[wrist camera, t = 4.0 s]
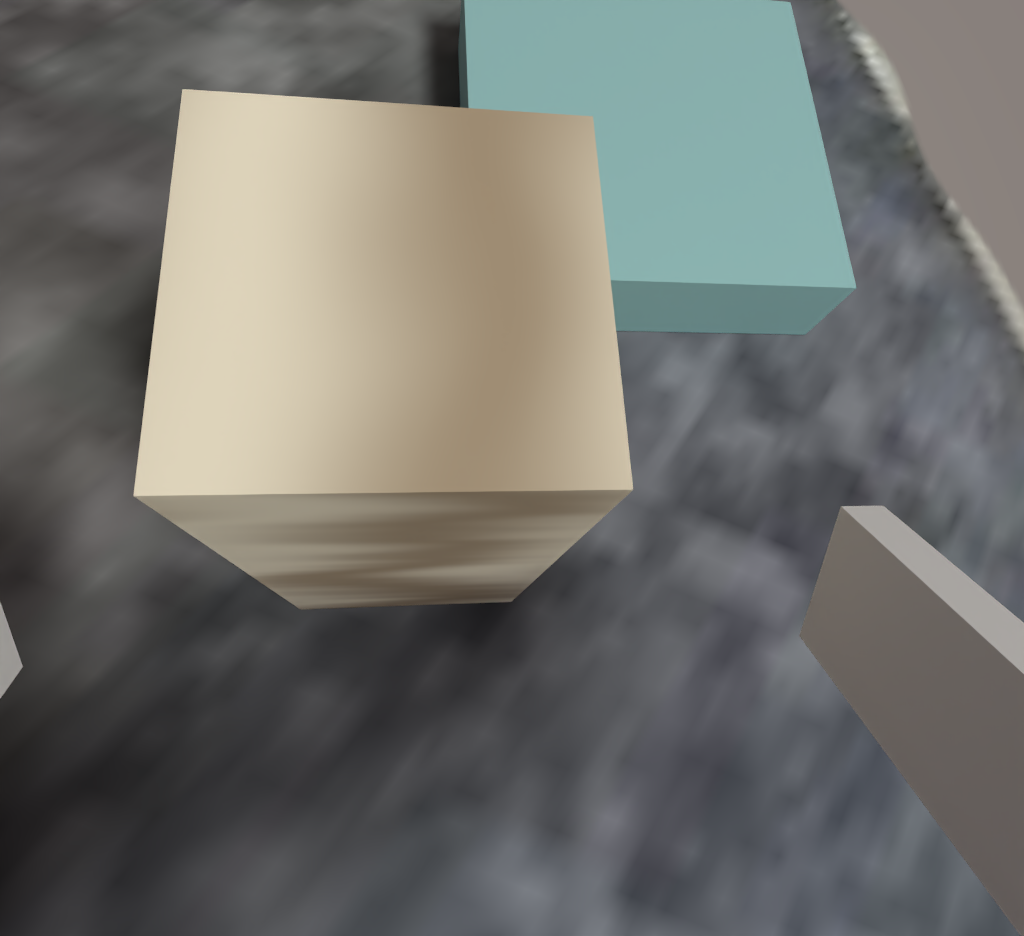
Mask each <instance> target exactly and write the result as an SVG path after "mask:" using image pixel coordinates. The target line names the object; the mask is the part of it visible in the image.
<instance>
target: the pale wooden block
mask: <svg viewBox="0 0 1024 936" xmlns="http://www.w3.org/2000/svg"><path fill="white" fill-rule="evenodd" d="M632 490H633V483H632V474H631V465H630V456H629V446H628V437H627V428H626V418H625V409H624V400H623V390H622V381H621V372H620V363H619V353H618V344H617V335H616V325H615V316H614V307H613V298H612V288H611V279H610V270H609V260H608V251H607V242H606V233H605V223H604V214H603V205H602V195H601V186H600V177H599V167H598V158H597V149H596V140H595V130H594V121H593V116H580V115H565V114H550V113H535V112H520V111H504V110H489V109H474V108H459V107H444V106H429V105H414V104H399V103H384V102H369V101H353V100H338V99H323V98H308V97H293V96H278V95H263V94H248V93H233V92H218V91H202V90H187V89H183V90H182V98H181V106H180V115H179V123H178V131H177V139H176V148H175V156H174V164H173V173H172V181H171V189H170V197H169V206H168V214H167V222H166V231H165V239H164V247H163V255H162V264H161V272H160V280H159V289H158V297H157V305H156V313H155V322H154V330H153V338H152V347H151V355H150V363H149V371H148V380H147V388H146V396H145V405H144V413H143V421H142V430H141V438H140V446H139V454H138V463H137V471H136V479H135V488H134V497H136V498H137V499H139V500H140V501H142V502H143V503H145V504H146V505H147V506H149V507H150V508H152V509H153V510H155V511H156V512H158V513H159V514H161V515H162V516H164V517H165V518H167V519H168V520H170V521H171V522H172V523H174V524H175V525H177V526H178V527H180V528H181V529H183V530H184V531H186V532H187V533H189V534H190V535H192V536H193V537H195V538H196V539H197V540H199V541H200V542H202V543H203V544H205V545H206V546H208V547H209V548H211V549H212V550H214V551H215V552H217V553H218V554H220V555H221V556H222V557H224V558H225V559H227V560H228V561H230V562H231V563H233V564H234V565H236V566H237V567H239V568H240V569H242V570H243V571H245V572H246V573H247V574H249V575H250V576H252V577H253V578H255V579H256V580H258V581H259V582H261V583H262V584H264V585H265V586H267V587H268V588H270V589H271V590H272V591H274V592H275V593H277V594H278V595H280V596H281V597H283V598H284V599H286V600H287V601H289V602H290V603H292V604H293V605H295V606H296V607H297V608H299V609H324V608H352V607H380V606H408V605H436V604H464V603H492V602H512V601H513V600H514V599H515V598H516V597H517V596H518V595H519V594H520V593H521V592H522V591H524V590H525V589H526V588H527V587H528V586H529V585H530V584H531V583H532V582H533V581H534V580H535V579H537V578H538V577H539V576H540V575H541V574H542V573H543V572H544V571H545V570H546V569H547V568H549V567H550V566H551V565H552V564H553V563H554V562H555V561H556V560H557V559H558V558H559V557H560V556H562V555H563V554H564V553H565V552H566V551H567V550H568V549H569V548H570V547H571V546H572V545H574V544H575V543H576V542H577V541H578V540H579V539H580V538H581V537H582V536H583V535H584V534H585V533H587V532H588V531H589V530H590V529H591V528H592V527H593V526H594V525H595V524H596V523H597V522H599V521H600V520H601V519H602V518H603V517H604V516H605V515H606V514H607V513H608V512H609V511H610V510H612V509H613V508H614V507H615V506H616V505H617V504H618V503H619V502H620V501H621V500H622V499H624V498H625V497H626V496H627V495H628V494H629V493H630V492H631V491H632Z"/></svg>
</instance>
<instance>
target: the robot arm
mask: <svg viewBox="0 0 1024 936" xmlns="http://www.w3.org/2000/svg"><path fill="white" fill-rule="evenodd" d="M800 637H801V639H802V640H803V641H804V643H805V644H806V645H807V647H808V648H809V649H810V651H811V652H812V654H813V655H814V656H815V658H816V659H817V660H818V662H819V663H820V664H821V666H822V667H823V668H824V670H825V671H826V672H827V674H828V675H829V677H830V678H831V679H832V681H833V682H834V683H835V685H836V686H837V687H838V689H839V690H840V691H841V693H842V694H843V696H844V697H845V698H846V700H847V701H848V702H849V704H850V705H851V706H852V708H853V709H854V710H855V712H856V713H857V715H858V716H859V717H860V719H861V720H862V721H863V723H864V724H865V725H866V727H867V728H868V729H869V731H870V732H871V733H872V735H873V736H874V738H875V739H876V740H877V742H878V743H879V744H880V746H881V747H882V748H883V750H884V751H885V752H886V754H887V755H888V757H889V758H890V759H891V761H892V762H893V763H894V765H895V766H896V767H897V769H898V770H899V771H900V773H901V774H902V776H903V777H904V778H905V780H906V781H907V782H908V784H909V785H910V786H911V788H912V789H913V790H914V792H915V793H916V794H917V796H918V797H919V799H920V800H921V801H922V803H923V804H924V805H925V807H926V808H927V809H928V811H929V812H930V813H931V815H932V816H933V818H934V819H935V820H936V822H937V823H938V824H939V826H940V827H941V828H942V830H943V831H944V832H945V834H946V835H947V836H948V838H949V839H950V841H951V842H952V843H953V845H954V846H955V847H956V849H957V850H958V851H959V853H960V854H961V855H962V857H963V858H964V860H965V861H966V862H967V864H968V865H969V866H970V868H971V869H972V870H973V872H974V873H975V874H976V876H977V877H978V879H979V880H980V881H981V883H982V884H983V885H984V887H985V888H986V889H987V891H988V892H989V893H990V895H991V896H992V897H993V899H994V900H995V902H996V903H997V904H998V906H999V907H1000V908H1001V910H1002V911H1003V912H1004V914H1005V915H1006V916H1007V918H1008V919H1009V921H1010V922H1011V923H1012V925H1013V926H1014V927H1015V929H1016V930H1017V931H1018V933H1019V934H1020V935H1021V936H1024V623H1023V622H1022V621H1021V620H1019V619H1018V618H1017V617H1016V616H1015V615H1013V614H1012V613H1011V612H1010V611H1009V610H1008V609H1006V608H1005V607H1004V606H1003V605H1002V604H1000V603H999V602H998V601H997V600H996V599H994V598H993V597H992V596H991V595H990V594H988V593H987V592H986V591H985V590H984V589H982V588H981V587H980V586H979V585H978V584H976V583H975V582H974V581H973V580H972V579H970V578H969V577H968V576H967V575H966V574H964V573H963V572H962V571H961V570H960V569H958V568H957V567H956V566H955V565H954V564H952V563H951V562H950V561H949V560H948V559H946V558H945V557H944V556H943V555H942V554H940V553H939V552H938V551H937V550H936V549H934V548H933V547H932V546H931V545H930V544H928V543H927V542H926V541H925V540H924V539H922V538H921V537H920V536H919V535H918V534H916V533H915V532H914V531H913V530H912V529H910V528H909V527H908V526H907V525H906V524H904V523H903V522H902V521H901V520H900V519H898V518H897V517H896V516H895V515H894V514H892V513H891V512H890V511H889V510H888V509H886V508H885V507H884V506H841V508H840V511H839V514H838V517H837V520H836V524H835V527H834V530H833V533H832V536H831V539H830V542H829V545H828V549H827V552H826V555H825V558H824V561H823V564H822V567H821V570H820V573H819V577H818V580H817V583H816V586H815V589H814V592H813V595H812V598H811V602H810V605H809V608H808V611H807V614H806V617H805V620H804V623H803V627H802V630H801V633H800ZM22 667H23V666H22V663H21V660H20V657H19V654H18V652H17V649H16V646H15V643H14V640H13V637H12V634H11V631H10V628H9V626H8V623H7V620H6V617H5V614H4V611H3V608H2V605H1V602H0V698H1V697H2V695H3V694H4V693H5V691H6V690H7V688H8V687H9V686H10V684H11V683H12V681H13V680H14V679H15V677H16V676H17V674H18V673H19V672H20V670H21V669H22Z"/></svg>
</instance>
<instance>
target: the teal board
mask: <svg viewBox="0 0 1024 936" xmlns="http://www.w3.org/2000/svg"><path fill="white" fill-rule="evenodd" d="M458 56H459V85H460V108H474V109H489V110H504V111H520V112H535V113H550V114H565V115H580V116H593V121H594V130H595V140H596V149H597V158H598V167H599V177H600V186H601V195H602V205H603V214H604V223H605V233H606V242H607V251H608V260H609V270H610V279H611V288H612V298H613V307H614V316H615V325H616V331H653V332H701V333H749V334H796V335H805V334H806V333H808V332H809V331H810V330H811V329H812V328H813V327H814V326H815V325H816V324H817V323H819V322H820V321H821V320H822V319H823V318H824V317H825V316H826V315H827V314H828V313H829V312H831V311H832V310H833V309H834V308H835V307H836V306H837V305H838V304H839V303H840V302H842V301H843V300H844V299H845V298H846V297H847V296H848V295H849V294H850V293H851V292H853V291H854V290H855V289H856V284H855V280H854V276H853V271H852V267H851V263H850V258H849V254H848V250H847V245H846V241H845V237H844V232H843V228H842V224H841V219H840V215H839V211H838V206H837V202H836V198H835V193H834V189H833V185H832V180H831V176H830V172H829V167H828V163H827V159H826V154H825V150H824V146H823V141H822V137H821V133H820V128H819V124H818V120H817V115H816V111H815V107H814V102H813V98H812V94H811V89H810V85H809V81H808V76H807V72H806V68H805V63H804V59H803V55H802V50H801V46H800V42H799V37H798V33H797V29H796V24H795V20H794V16H793V11H792V7H791V3H790V2H781V1H771V0H461V14H460V30H459V45H458Z"/></svg>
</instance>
